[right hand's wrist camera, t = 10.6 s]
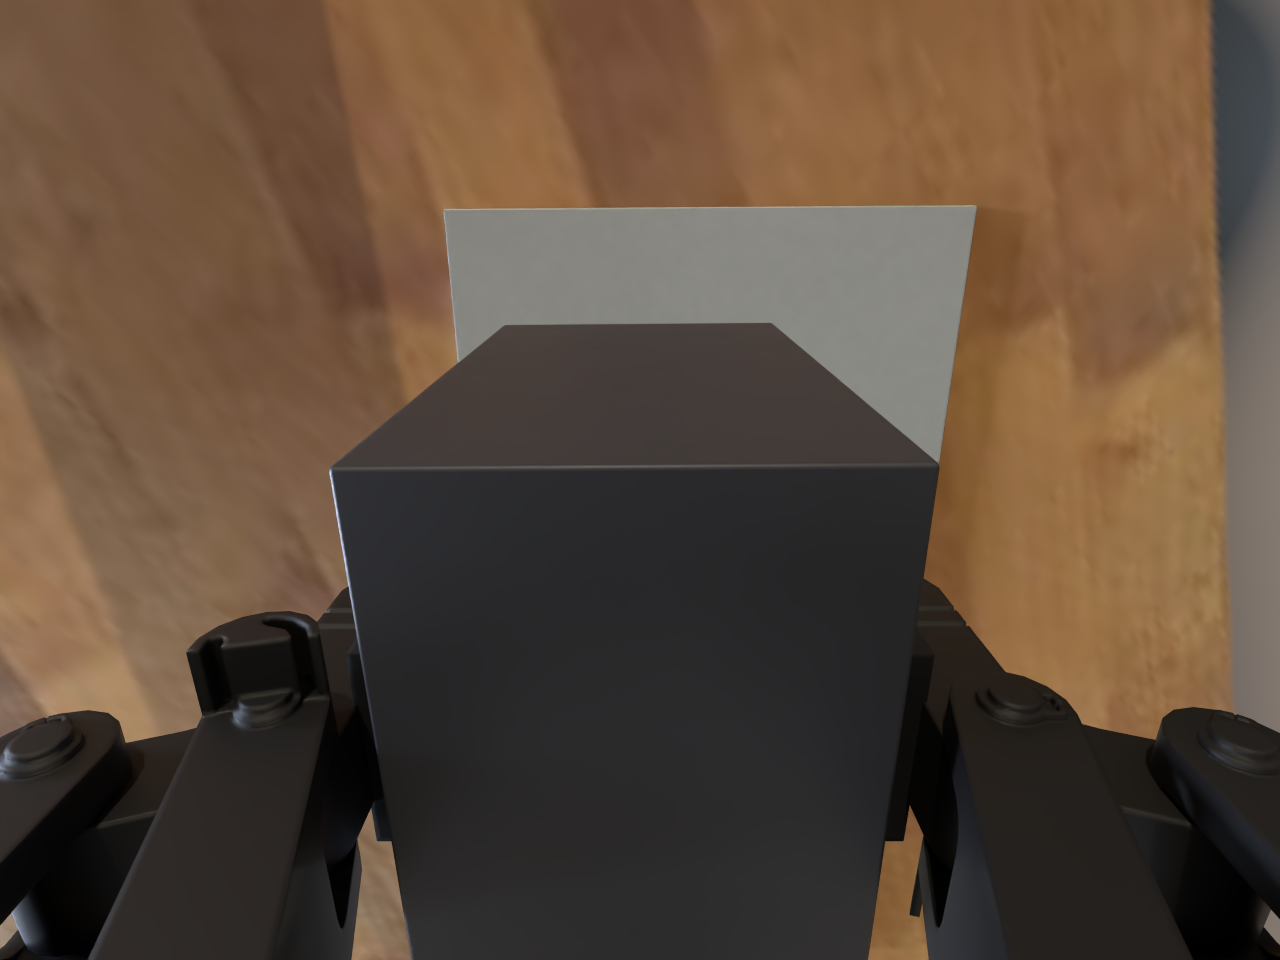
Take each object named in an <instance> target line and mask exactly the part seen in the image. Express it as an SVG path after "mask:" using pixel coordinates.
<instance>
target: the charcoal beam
mask: <svg viewBox="0 0 1280 960" xmlns="http://www.w3.org/2000/svg"><path fill="white" fill-rule="evenodd" d="M329 474H330V479H331V485H332V491H333V497H334V503H335V509H336V515H337V521H338V527H339V533H340V539H341V545H342V550H343V556H344V562H345V568H346V574H347V580H348V586H349V592H350V598H351V604H352V610H353V616H354V622H355V627H356V633H357V639H358V645H359V651H360V657H361V663H362V669H363V675H364V681H365V687H366V693H367V698H368V704H369V710H370V716H371V722H372V728H373V734H374V740H375V746H376V752H377V758H378V764H379V769H380V775H381V781H382V787H383V793H384V799H385V805H386V811H387V817H388V823H389V829H390V835H391V841H392V846H393V852H394V858H395V864H396V870H397V876H398V882H399V888H400V894H401V900H402V906H403V912H404V917H405V923H406V929H407V935H408V941H409V947H410V953H411V959H412V960H868V955H869V948H870V942H871V935H872V928H873V921H874V914H875V907H876V900H877V893H878V887H879V880H880V873H881V866H882V859H883V852H884V845H885V838H886V832H887V825H888V818H889V811H890V804H891V797H892V790H893V783H894V777H895V770H896V763H897V756H898V749H899V742H900V735H901V728H902V722H903V715H904V708H905V701H906V694H907V687H908V680H909V673H910V667H911V660H912V653H913V646H914V639H915V632H916V625H917V618H918V611H919V605H920V598H921V591H922V584H923V577H924V570H925V563H926V556H927V550H928V543H929V536H930V529H931V522H932V515H933V508H934V501H935V495H936V488H937V481H938V474H939V464H938V462H936V461H935V460H934V459H933V458H932V457H931V456H929V455H928V454H927V453H926V452H925V451H923V450H922V449H921V448H920V447H919V446H917V445H916V444H915V443H914V442H913V441H911V440H910V439H909V438H908V437H907V436H906V435H904V434H903V433H902V432H901V431H900V430H898V429H897V428H896V427H895V426H894V425H892V424H891V423H890V422H889V421H888V420H886V419H885V418H884V417H883V416H882V415H881V414H879V413H878V412H877V411H876V410H875V409H873V408H872V407H871V406H870V405H869V404H867V403H866V402H865V401H864V400H863V399H862V398H860V397H859V396H858V395H857V394H856V393H854V392H853V391H852V390H851V389H850V388H848V387H847V386H846V385H845V384H844V383H842V382H841V381H840V380H839V379H838V378H837V377H835V376H834V375H833V374H832V373H831V372H829V371H828V370H827V369H826V368H825V367H823V366H822V365H821V364H820V363H819V362H817V361H816V360H815V359H814V358H813V357H812V356H810V355H809V354H808V353H807V352H806V351H804V350H803V349H802V348H801V347H800V346H798V345H797V344H796V343H795V342H794V341H793V340H791V339H790V338H789V337H788V336H787V335H785V334H784V333H783V332H782V331H781V330H779V329H778V328H777V327H776V326H775V325H773V324H772V323H679V324H555V325H504V326H503V327H501V328H500V329H499V330H498V331H497V332H495V333H494V334H493V335H492V336H490V337H489V338H488V339H487V340H486V341H484V342H483V343H482V344H481V345H479V346H478V347H477V348H476V349H475V350H473V351H472V352H471V353H470V354H468V355H467V356H466V357H465V358H464V359H462V360H461V361H460V362H459V363H457V364H456V365H455V366H454V367H453V368H451V369H450V370H449V371H448V372H446V373H445V374H444V375H443V376H442V377H440V378H439V379H438V380H437V381H435V382H434V383H433V384H432V385H431V386H429V387H428V388H427V389H426V390H424V391H423V392H422V393H421V394H420V395H418V396H417V397H416V398H415V399H413V400H412V401H411V402H410V403H409V404H407V405H406V406H405V407H404V408H402V409H401V410H400V411H399V412H398V413H396V414H395V415H394V416H393V417H391V418H390V419H389V420H388V421H387V422H385V423H384V424H383V425H382V426H380V427H379V428H378V429H377V430H376V431H374V432H373V433H372V434H371V435H369V436H368V437H367V438H366V439H365V440H363V441H362V442H361V443H360V444H358V445H357V446H356V447H355V448H354V449H352V450H351V451H350V452H349V453H347V454H346V455H345V456H344V457H343V458H341V459H340V460H339V461H338V462H336V463H335V464H334V465H333V466H331V467H330V471H329Z"/></svg>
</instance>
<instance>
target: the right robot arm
mask: <svg viewBox="0 0 1280 960" xmlns="http://www.w3.org/2000/svg"><path fill="white" fill-rule="evenodd" d="M186 654H187V658H188V662H189V665H190V669H191V673H192V677H193V681H194V685H195V689H196V692H197V696H198V700H199V704H200V708H201V712H202V715H203V716H202V718H201V720H200V722H199V724H198V726H197V728H194V729H190V730H187V731H183V732H178V733H173V734H168V735H163V736H158V737H153V738H149V739H144V740H139V741H134V742H129V743H126V742H125V739H124V736H123V732H122V729H121V726H120V723H119V721H118V720H117V719H115V718H114V717H113V716H111V715H110V714H109V713H104V712H97V711H90V710H87V711H79V712H70V713H61V714H57V715H52V716H49V717H48V718H42V719H39V720H36V721H33V722H30V723H28V724H27V725H25V726H24V727H21V728H19V729H17V730H15V731H13V732H11V733H8V734H6V735H4V736H2V737H1V738H0V925H1V924H2V923H3V922H4V921H5V919H6V918H7V917H8V916H9V915H10V914H11V913H12V916H13V918H14V920H15V923H16V925H17V927H18V931H17V932H16V933H15V934H14V935H13V936H12V938H11V939H10V940H9V941H8V942H7V944H6V945H5V946H3V947H2V948H1V949H0V960H351V957H352V949H353V941H354V932H355V924H356V915H357V907H358V898H359V890H360V881H361V873H362V865H361V858H360V852H359V846H358V841H357V838H358V835H359V833H360V831H361V829H362V827H363V824H364V822H365V820H366V818H367V815H368V813H369V811H370V809H371V808H372V814H373V820H374V826H375V832H376V838H377V841H391V835H390V829H389V823H388V817H387V811H386V805H385V799H384V793H383V787H382V781H381V775H380V769H379V764H378V758H377V752H376V746H375V740H374V734H373V728H372V722H371V716H370V710H369V704H368V698H367V693H366V687H365V681H364V675H363V669H362V663H361V657H360V651H359V645H358V639H357V633H356V627H355V622H354V616H353V610H352V604H351V598H350V592H349V587H347V588H345V589H344V590H342V591H341V593H340V594H339V595H338V596H337V598H336V599H335V600H334V601H333V603H332V604H331V605H330V607H329V608H328V609H327V613H324V614H323V615H322V617H321V618H320V619H319V621H318V622H316V621H315V620H313V619H312V618H311V617H309V616H308V615H305V614H300V613H295V612H291V611H285V612H265V613H260V614H255V615H250V616H246V617H241V618H239V619H236V620H234V621H231V622H228V623H226V624H223V625H220V626H218V627H216V628H215V629H213V630H211V631H210V632H208V633H206V634H205V635H203V636H201V637H200V638H198V639H197V640H196V641H195V642H194V644H193V645H192V646H191V647H190V648H189V649H188V650H187V651H186ZM909 806H911V808H912V811H913V813H914V815H915V817H916V819H917V822H918V824H919V826H920V828H921V830H922V833H923V841H922V846H921V852H920V857H919V863H918V868H917V874H916V879H915V885H914V890H913V896H912V902H911V909H910V915H912V916H916V917H919V916H920V911H921V906H922V905H923V913H924V922H925V930H926V939H927V947H928V956H929V960H1280V945H1279V944H1278V943H1277V942H1276V941H1275V940H1274V938H1273V937H1272V936H1271V935H1270V934H1269V933H1268V931H1267V930H1266V929H1265V928H1264V924H1265V922H1266V920H1267V917H1268V915H1269V913H1270V910H1272V911H1273V912H1274V913H1275V914H1276V915H1277V917H1278V918H1279V919H1280V733H1278V732H1276V731H1274V730H1272V729H1270V728H1268V727H1265V726H1263V725H1261V724H1259V723H1257V722H1256V721H1254V720H1252V719H1250V718H1247V717H1244V716H1241V715H1238V714H1237V715H1234V714H1233V713H1230V712H1226V711H1222V710H1213V709H1205V708H1196V707H1191V708H1183V709H1176V710H1173V711H1171V712H1170V713H1169V714H1167V715H1166V716H1165V717H1163V718H1162V722H1161V725H1160V728H1159V731H1158V735H1157V738H1156V740H1153V739H1148V738H1143V737H1138V736H1133V735H1128V734H1123V733H1118V732H1113V731H1108V730H1103V729H1099V728H1095V727H1091V726H1087V725H1083V724H1082V723H1081V721H1080V719H1079V716H1078V715H1077V713H1076V712H1075V711H1074V709H1073V708H1072V707H1071V706H1070V704H1069V703H1068V702H1067V700H1066V699H1064V698H1063V697H1061V696H1060V695H1058V694H1057V693H1056V692H1054V691H1053V690H1051V689H1050V688H1049V687H1047V686H1045V685H1042V684H1040V683H1038V682H1036V681H1033V680H1031V679H1029V678H1026V677H1024V676H1020V675H1016V674H1011V673H1007V672H1005V671H1004V670H1003V668H1002V667H1001V666H1000V665H999V663H998V662H997V661H996V660H995V658H994V657H993V656H992V655H991V653H990V652H989V651H988V649H987V648H986V647H985V646H984V644H983V643H982V642H981V641H980V639H979V638H978V637H977V636H976V634H975V633H974V632H973V631H972V629H971V628H970V627H969V626H966V622H965V620H964V619H963V618H962V617H961V615H960V614H959V613H958V612H957V610H954V607H953V605H952V604H951V603H950V602H949V600H948V599H947V598H946V596H945V595H944V594H943V593H942V591H941V590H940V589H939V588H938V587H936V586H935V585H933V584H931V583H930V582H928V581H927V580H925V579H923V584H922V591H921V598H920V605H919V611H918V618H917V625H916V632H915V639H914V646H913V653H912V660H911V667H910V673H909V680H908V687H907V694H906V701H905V708H904V715H903V722H902V728H901V735H900V742H899V749H898V756H897V763H896V770H895V777H894V783H893V790H892V797H891V804H890V811H889V818H888V825H887V832H886V838H885V841H904V835H905V829H906V823H907V817H908V812H909Z"/></svg>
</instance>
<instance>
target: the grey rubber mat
mask: <svg viewBox="0 0 1280 960" xmlns="http://www.w3.org/2000/svg"><path fill="white" fill-rule="evenodd" d="M976 210H977V206H976V205H964V206H817V207H670V208H524V209H444V220H445V230H446V241H447V251H448V261H449V272H450V282H451V293H452V303H453V314H454V324H455V335H456V345H457V356H458V363H459V362H460V361H461V360H462V359H464V358H465V357H466V356H467V355H468V354H470V353H471V352H472V351H473V350H475V349H476V348H477V347H478V346H479V345H481V344H482V343H483V342H484V341H486V340H487V339H488V338H489V337H490V336H492V335H493V334H494V333H495V332H497V331H498V330H499V329H500V328H501V327H503V326H504V325H555V324H679V323H772V324H773V325H775V326H776V327H777V328H778V329H779V330H781V331H782V332H783V333H784V334H785V335H787V336H788V337H789V338H790V339H791V340H793V341H794V342H795V343H796V344H797V345H798V346H800V347H801V348H802V349H803V350H804V351H806V352H807V353H808V354H809V355H810V356H812V357H813V358H814V359H815V360H816V361H817V362H819V363H820V364H821V365H822V366H823V367H825V368H826V369H827V370H828V371H829V372H831V373H832V374H833V375H834V376H835V377H837V378H838V379H839V380H840V381H841V382H842V383H844V384H845V385H846V386H847V387H848V388H850V389H851V390H852V391H853V392H854V393H856V394H857V395H858V396H859V397H860V398H862V399H863V400H864V401H865V402H866V403H867V404H869V405H870V406H871V407H872V408H873V409H875V410H876V411H877V412H878V413H879V414H881V415H882V416H883V417H884V418H885V419H886V420H888V421H889V422H890V423H891V424H892V425H894V426H895V427H896V428H897V429H898V430H900V431H901V432H902V433H903V434H904V435H906V436H907V437H908V438H909V439H910V440H911V441H913V442H914V443H915V444H916V445H917V446H919V447H920V448H921V449H922V450H923V451H925V452H926V453H927V454H928V455H929V456H931V457H932V458H933V459H934V460H935V461H936V462H938V464H939V461H940V454H941V447H942V440H943V433H944V427H945V420H946V413H947V406H948V400H949V393H950V386H951V379H952V372H953V366H954V359H955V352H956V345H957V339H958V332H959V325H960V318H961V311H962V305H963V298H964V291H965V284H966V278H967V271H968V264H969V257H970V250H971V244H972V237H973V230H974V223H975V217H976Z"/></svg>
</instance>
